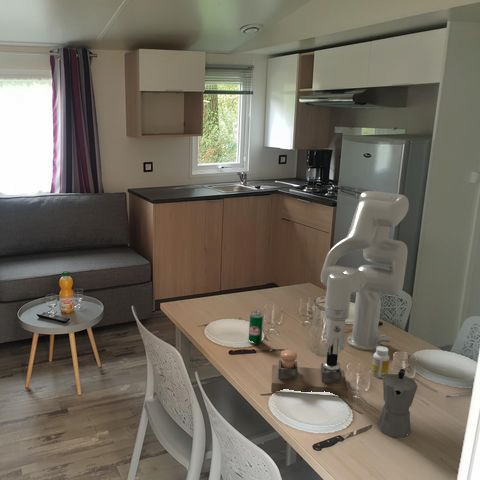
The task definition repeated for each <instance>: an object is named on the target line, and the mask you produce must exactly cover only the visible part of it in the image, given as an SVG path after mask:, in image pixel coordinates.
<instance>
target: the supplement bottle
mask: <svg viewBox="0 0 480 480" xmlns="http://www.w3.org/2000/svg"><path fill="white" fill-rule="evenodd" d="M389 366H390V355H389V348H388V347H386V346H381V345H380V346H379V347H377V348H376V349H375V352H374V353H373V357H372V364H371V375H372V376H374V377H376V378H380V379H381V378H382V379H383V378H384V377H386V376H387V375H389Z"/></svg>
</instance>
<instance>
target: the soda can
mask: <svg viewBox="0 0 480 480" xmlns="http://www.w3.org/2000/svg"><path fill="white" fill-rule="evenodd" d="M263 325H264V315H263V312H262V311H260V310H252V311H251V312H250V314H249V325H248V326H249V327H248V341H249V340H250V341H253V342H254V343H256V344H255V345H259V344H261V343H262V341H263V327H264V326H263Z"/></svg>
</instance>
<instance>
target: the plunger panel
mask: <svg viewBox="0 0 480 480" xmlns="http://www.w3.org/2000/svg"><path fill="white" fill-rule="evenodd" d="M323 365H324V362H323V363H321V365H320V368H315V367H304V366H298V361H296V360H295V363H294V369H288V368H282V359H279V360H278V364H272V369H271V389H270V391H271V392H276V391H280V390H283V389H289V390H294V391H301V392H311V391H312V392H324V391H325V392H330V393H333V394H335V395H338V396H339V397H338V398H348V393H349V389H348V388H349V387H348V383H347V378H346V375H345V370H344V369H343V370H342V369H341V368H340V369H339V370H338V371H337V372H326V371H325V369H324V367H323ZM276 393H277V392H276Z"/></svg>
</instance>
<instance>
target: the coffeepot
mask: <svg viewBox="0 0 480 480" xmlns="http://www.w3.org/2000/svg"><path fill="white" fill-rule="evenodd" d="M382 382H383V383H382V387H383V388H382V389H383V401H384V405H383V407H382V408H381V413H380V415H379V418H378V421H377V426H378V429H379V431H380V432H381V433H383V434H384V435H386V436H388V435H389V436H388V437H391V436H392V437H391V438H395V437H403V438H406V437H407V436H406V435H407V434H408V435H410V433H412V431H411V414H410V413H411V412H410V407H412V405H413V402H414V398H415V396H416V392H417V389H418V384H417V383H416V381H415V380H414V378H412V377H409V376H406V369H404V368H400V370H399V371H398V374H395V373H388V374H387V376H386V377H384V378H382ZM405 436H406V437H405Z"/></svg>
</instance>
